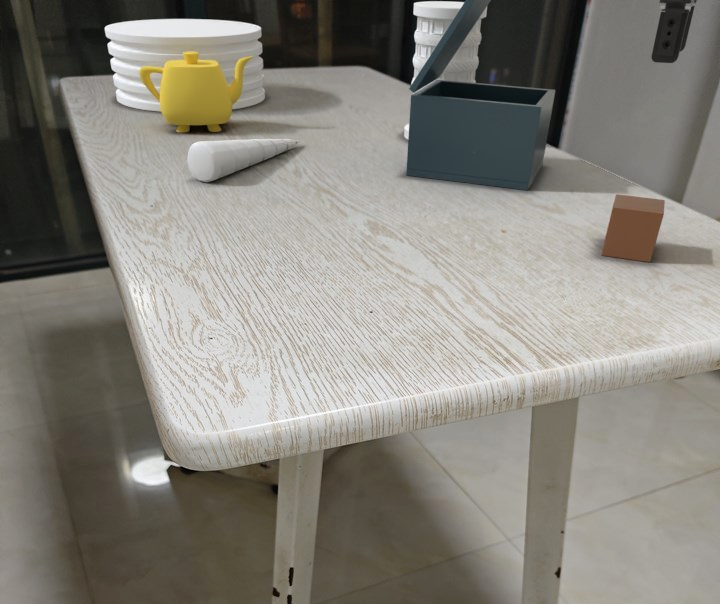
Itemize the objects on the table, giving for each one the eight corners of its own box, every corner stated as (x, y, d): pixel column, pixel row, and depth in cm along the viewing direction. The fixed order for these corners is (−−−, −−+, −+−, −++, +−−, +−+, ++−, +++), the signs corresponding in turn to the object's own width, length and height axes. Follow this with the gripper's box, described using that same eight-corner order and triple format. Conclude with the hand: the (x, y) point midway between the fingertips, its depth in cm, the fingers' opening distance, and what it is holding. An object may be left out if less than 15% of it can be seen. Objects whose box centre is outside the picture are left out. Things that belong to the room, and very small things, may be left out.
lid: (524, -50, 89) (490, -82, 88) (505, -48, 79) (467, -84, 78) (439, 77, 100) (409, 50, 100) (413, 93, 91) (380, 63, 90)
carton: (651, 246, 77) (664, 199, 74) (650, 262, 74) (663, 214, 71) (604, 240, 79) (616, 193, 76) (601, 255, 75) (612, 207, 72)
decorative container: (408, 145, 110) (416, 7, 99) (400, 128, 119) (406, 0, 108) (481, 146, 111) (497, 9, 100) (467, 129, 120) (481, 1, 109)
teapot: (254, 118, 123) (250, 46, 116) (259, 133, 114) (255, 57, 108) (148, 120, 120) (137, 47, 113) (145, 135, 111) (133, 57, 105)
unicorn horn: (319, 148, 107) (318, 114, 104) (214, 186, 91) (210, 146, 88) (294, 144, 109) (292, 109, 106) (187, 180, 93) (182, 141, 90)
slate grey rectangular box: (542, 166, 102) (555, 89, 96) (527, 190, 93) (541, 107, 87) (430, 153, 107) (436, 79, 100) (406, 175, 97) (410, 95, 91)
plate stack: (119, 85, 144) (107, 18, 137) (256, 83, 149) (252, 18, 142) (114, 114, 123) (100, 37, 116) (274, 110, 128) (270, 36, 121)
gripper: (776, -198, 49) (707, 69, 59) (772, -175, 59) (714, 49, 69) (662, -191, 52) (615, 64, 61) (678, -170, 62) (635, 46, 72)
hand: (667, 56), depth 65 cm, fingers open, 8 cm apart
